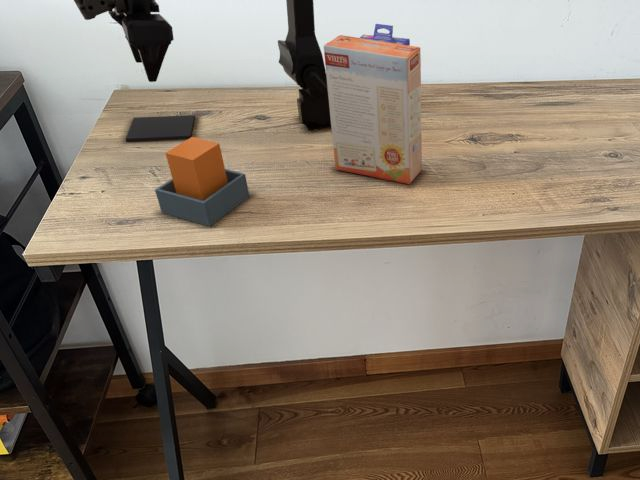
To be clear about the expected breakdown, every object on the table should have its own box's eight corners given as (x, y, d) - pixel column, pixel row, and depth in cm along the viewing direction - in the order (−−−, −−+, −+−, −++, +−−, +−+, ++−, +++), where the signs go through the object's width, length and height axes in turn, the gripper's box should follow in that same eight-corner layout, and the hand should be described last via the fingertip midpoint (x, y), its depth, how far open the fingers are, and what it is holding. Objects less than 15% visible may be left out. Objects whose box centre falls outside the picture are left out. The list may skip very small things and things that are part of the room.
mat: (195, 118, 130) (194, 115, 130) (190, 138, 124) (190, 135, 123) (134, 120, 128) (133, 117, 128) (126, 141, 122) (125, 138, 121)
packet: (205, 189, 110) (192, 136, 104) (231, 196, 108) (219, 143, 102) (180, 206, 106) (165, 152, 99) (206, 214, 104) (193, 159, 98)
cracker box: (423, 170, 118) (422, 45, 104) (409, 186, 114) (407, 58, 100) (349, 155, 121) (340, 31, 107) (334, 170, 117) (321, 43, 103)
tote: (203, 184, 112) (198, 161, 109) (249, 196, 110) (245, 173, 107) (161, 212, 105) (154, 189, 102) (209, 226, 103) (204, 203, 100)
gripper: (57, -54, 102) (80, 54, 112) (78, -23, 90) (101, 95, 100) (137, -51, 107) (152, 52, 117) (167, -21, 96) (180, 91, 106)
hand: (145, 71), depth 110 cm, fingers open, 9 cm apart
